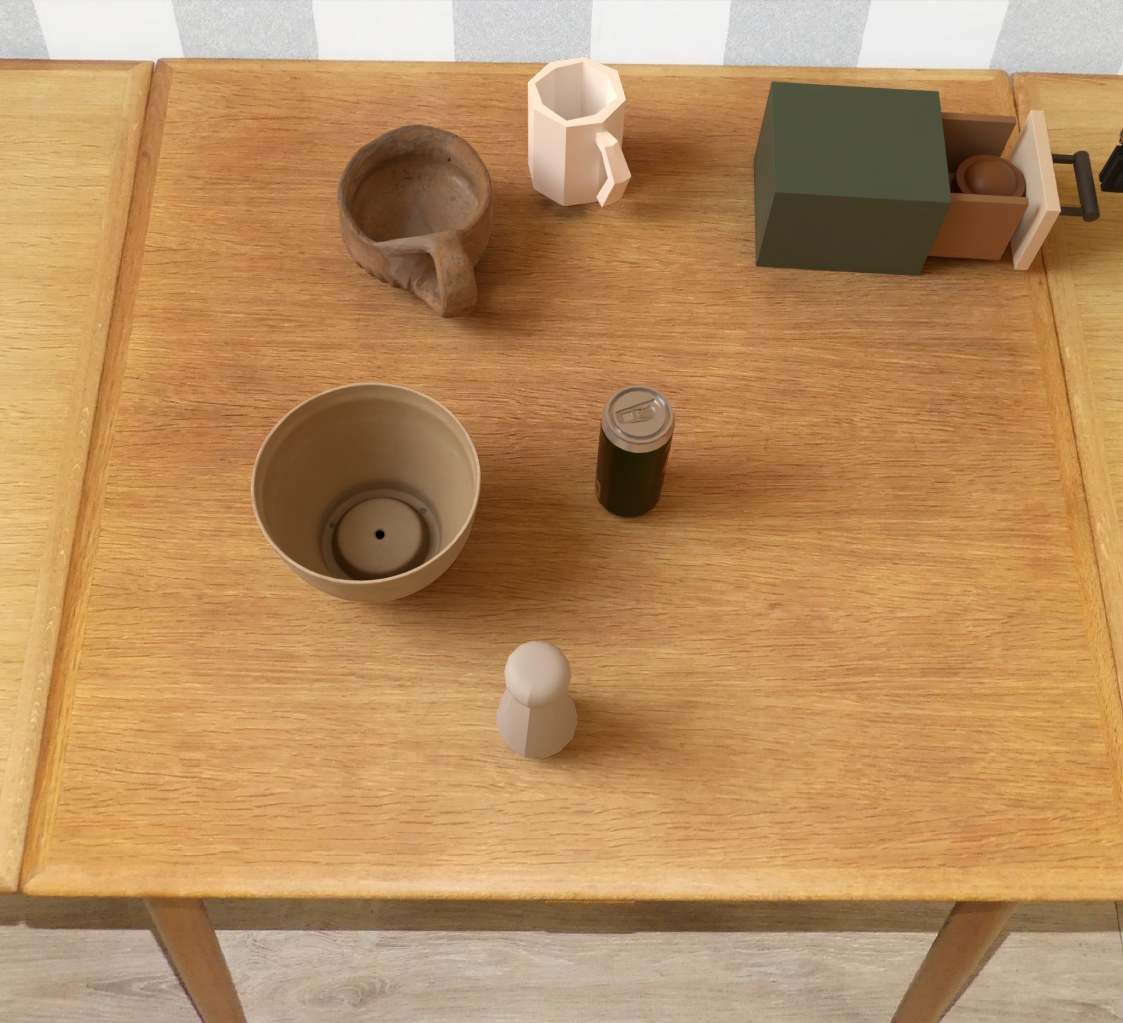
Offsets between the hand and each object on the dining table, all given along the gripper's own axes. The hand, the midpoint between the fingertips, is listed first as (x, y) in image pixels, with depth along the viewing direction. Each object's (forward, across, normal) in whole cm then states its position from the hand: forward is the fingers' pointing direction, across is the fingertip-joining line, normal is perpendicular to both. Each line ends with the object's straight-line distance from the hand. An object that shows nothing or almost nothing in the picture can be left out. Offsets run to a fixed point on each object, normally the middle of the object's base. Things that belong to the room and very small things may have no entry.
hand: (1116, 185), depth 107 cm
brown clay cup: (+6, -9, +59) cm, 60 cm away
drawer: (+5, 0, +11) cm, 12 cm away
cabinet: (+6, 0, +23) cm, 24 cm away
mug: (+6, +1, +46) cm, 47 cm away
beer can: (+6, -31, +41) cm, 52 cm away
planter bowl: (+6, -37, +60) cm, 71 cm away
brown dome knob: (+4, 0, +11) cm, 12 cm away
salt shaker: (+6, -51, +47) cm, 69 cm away
